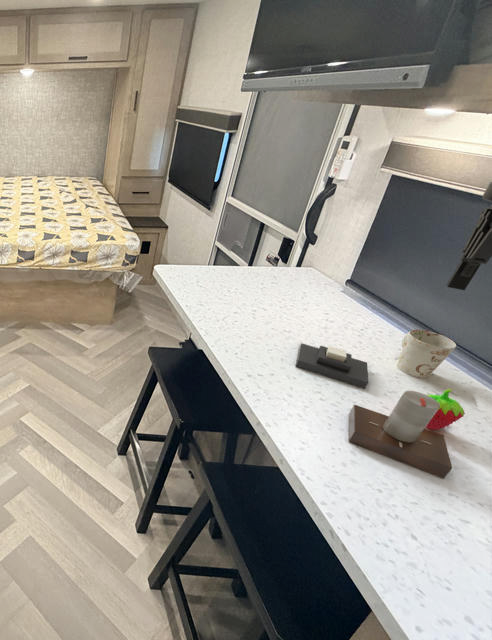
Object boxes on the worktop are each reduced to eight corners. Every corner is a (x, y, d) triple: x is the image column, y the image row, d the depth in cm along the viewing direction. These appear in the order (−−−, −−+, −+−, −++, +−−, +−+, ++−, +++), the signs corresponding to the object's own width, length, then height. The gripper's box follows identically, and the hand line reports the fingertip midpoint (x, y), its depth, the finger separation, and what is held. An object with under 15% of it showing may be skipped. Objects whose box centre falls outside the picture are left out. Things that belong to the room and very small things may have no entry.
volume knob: (382, 420, 83) (403, 385, 79) (414, 431, 80) (438, 396, 76) (383, 434, 80) (405, 399, 75) (417, 447, 77) (442, 411, 73)
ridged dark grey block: (363, 369, 103) (370, 356, 101) (364, 389, 96) (371, 376, 94) (298, 349, 111) (303, 337, 109) (295, 366, 104) (300, 354, 102)
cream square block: (343, 356, 102) (346, 350, 101) (343, 362, 100) (346, 357, 99) (326, 351, 104) (328, 345, 103) (325, 357, 102) (328, 352, 101)
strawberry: (397, 412, 89) (419, 377, 85) (439, 421, 87) (465, 385, 82) (410, 430, 85) (434, 394, 80) (455, 440, 82) (483, 404, 77)
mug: (401, 377, 100) (421, 344, 95) (375, 349, 111) (392, 319, 106) (443, 383, 98) (465, 350, 93) (412, 354, 108) (431, 323, 104)
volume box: (435, 445, 81) (444, 434, 80) (443, 478, 74) (453, 467, 73) (348, 414, 89) (354, 403, 87) (348, 441, 82) (354, 430, 81)
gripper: (484, 175, 86) (428, 273, 97) (500, 185, 77) (436, 293, 88) (538, 179, 82) (473, 282, 93) (561, 191, 73) (486, 303, 84)
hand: (455, 287), depth 91 cm, fingers closed
